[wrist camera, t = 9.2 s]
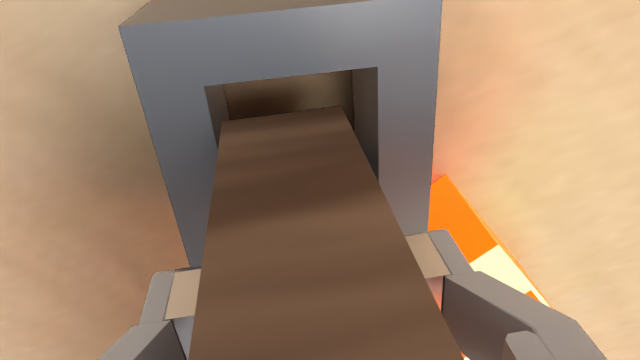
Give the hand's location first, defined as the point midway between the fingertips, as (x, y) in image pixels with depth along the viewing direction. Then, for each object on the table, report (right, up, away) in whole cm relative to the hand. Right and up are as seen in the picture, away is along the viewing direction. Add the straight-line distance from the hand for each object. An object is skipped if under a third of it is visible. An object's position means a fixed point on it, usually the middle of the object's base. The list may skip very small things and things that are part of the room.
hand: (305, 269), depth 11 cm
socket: (-1, +6, +10) cm, 11 cm away
